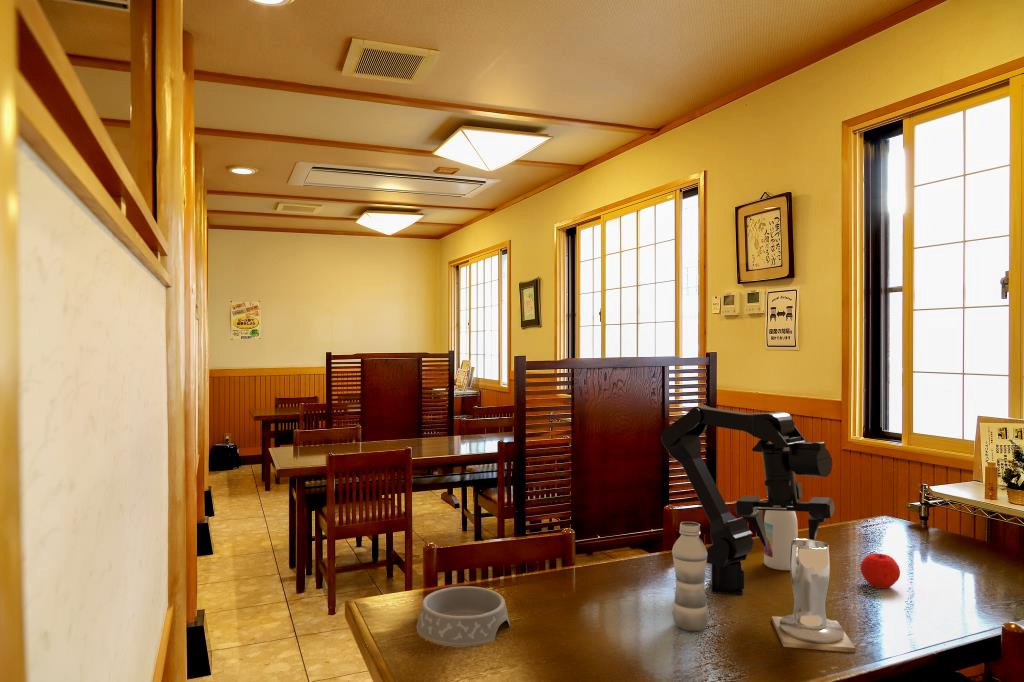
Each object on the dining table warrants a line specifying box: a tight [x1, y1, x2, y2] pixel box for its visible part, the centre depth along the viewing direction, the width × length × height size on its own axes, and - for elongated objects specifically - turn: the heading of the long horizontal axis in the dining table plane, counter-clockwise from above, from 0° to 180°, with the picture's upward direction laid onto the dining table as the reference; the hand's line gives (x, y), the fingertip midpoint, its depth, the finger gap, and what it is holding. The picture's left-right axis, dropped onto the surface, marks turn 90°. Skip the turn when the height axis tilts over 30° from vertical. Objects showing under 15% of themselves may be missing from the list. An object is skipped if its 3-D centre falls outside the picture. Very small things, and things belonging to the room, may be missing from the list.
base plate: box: [771, 615, 856, 653], centre depth 128 cm, size 12×12×1 cm
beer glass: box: [789, 538, 831, 629], centre depth 129 cm, size 7×7×15 cm
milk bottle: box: [763, 506, 799, 571], centre depth 168 cm, size 8×8×20 cm
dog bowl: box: [415, 585, 511, 648], centre depth 132 cm, size 17×18×5 cm
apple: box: [860, 553, 901, 589], centre depth 153 cm, size 8×8×7 cm
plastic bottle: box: [671, 521, 710, 632], centre depth 131 cm, size 6×7×20 cm
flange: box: [780, 614, 845, 644], centre depth 128 cm, size 11×11×1 cm
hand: (788, 547), depth 142 cm, fingers open, 9 cm apart
